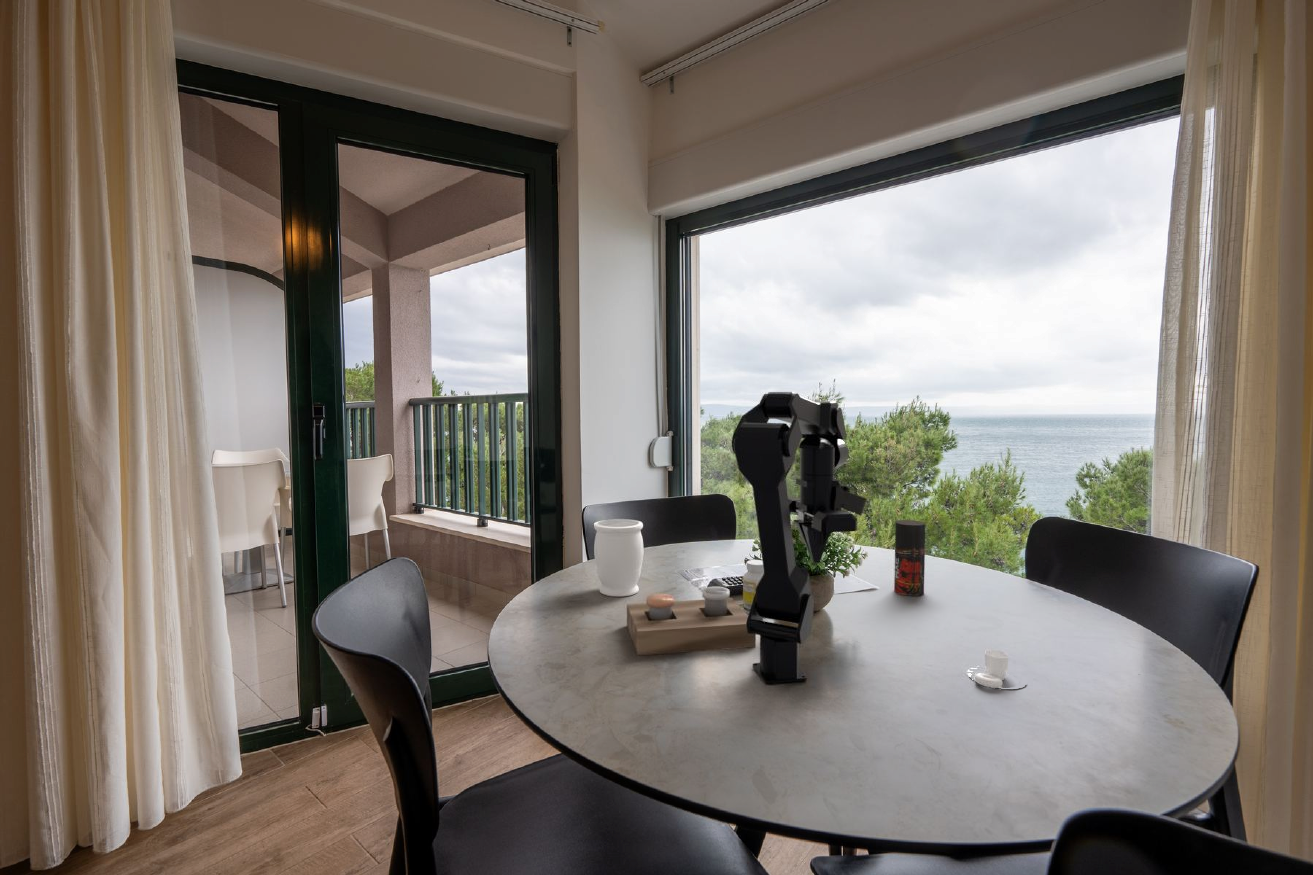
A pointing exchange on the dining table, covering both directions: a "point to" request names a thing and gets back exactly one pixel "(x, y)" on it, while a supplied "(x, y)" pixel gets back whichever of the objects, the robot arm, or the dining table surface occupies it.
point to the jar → (618, 555)
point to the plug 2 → (715, 600)
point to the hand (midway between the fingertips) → (816, 562)
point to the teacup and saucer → (992, 669)
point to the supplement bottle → (751, 582)
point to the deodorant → (909, 557)
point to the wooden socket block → (688, 629)
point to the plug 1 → (660, 606)
